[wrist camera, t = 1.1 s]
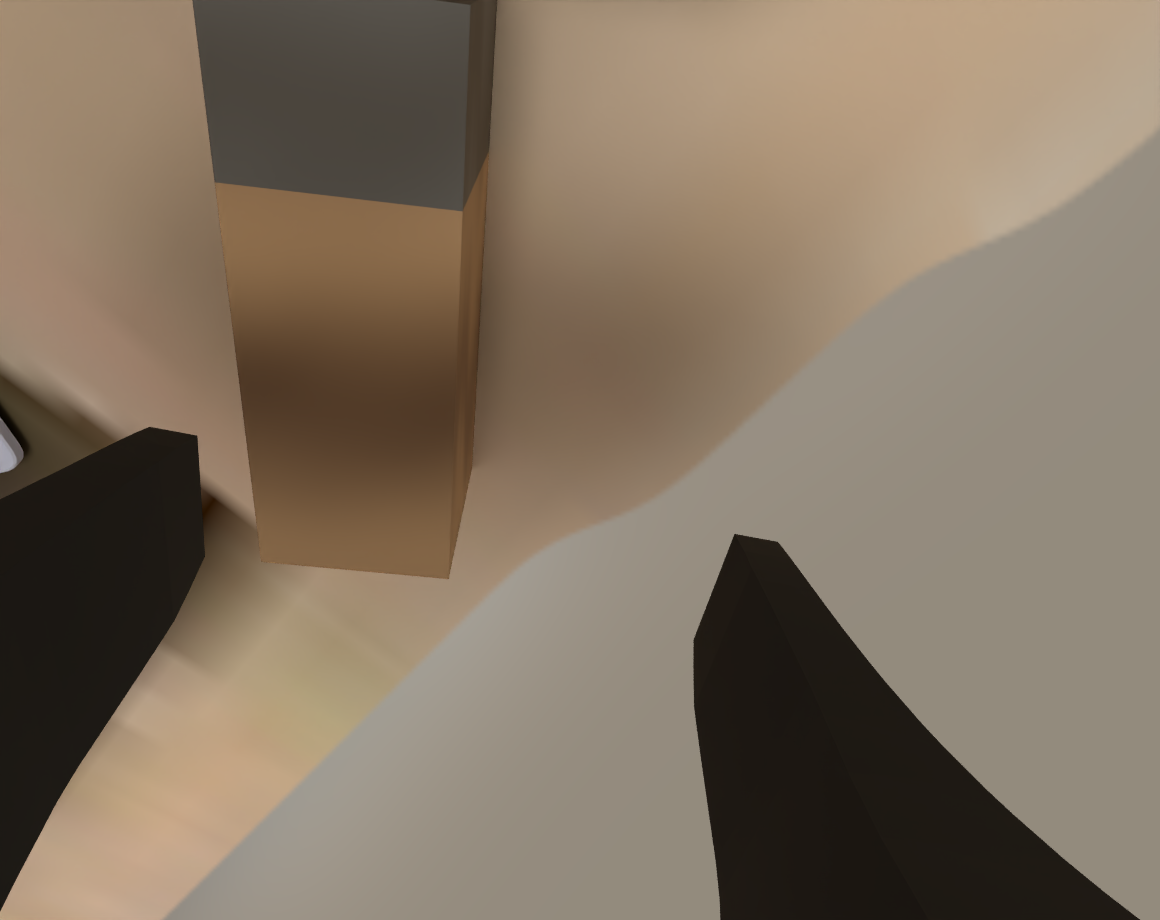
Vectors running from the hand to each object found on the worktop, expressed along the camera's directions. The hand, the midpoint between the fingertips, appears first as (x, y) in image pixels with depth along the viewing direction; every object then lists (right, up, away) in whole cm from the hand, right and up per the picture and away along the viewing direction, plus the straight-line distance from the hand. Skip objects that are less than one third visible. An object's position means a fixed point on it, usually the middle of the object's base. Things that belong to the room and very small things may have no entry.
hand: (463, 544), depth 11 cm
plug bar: (-3, +6, +7) cm, 10 cm away
